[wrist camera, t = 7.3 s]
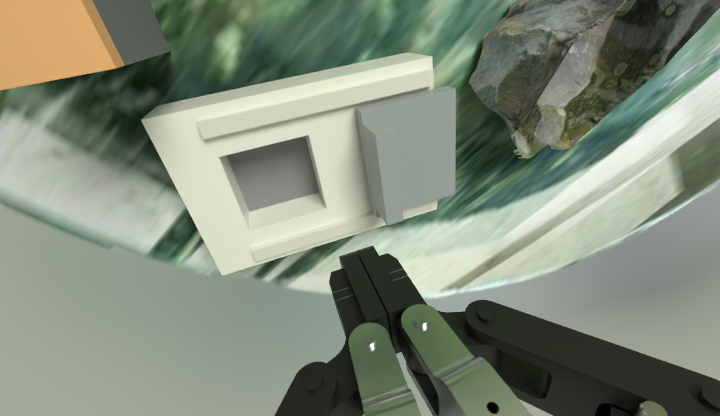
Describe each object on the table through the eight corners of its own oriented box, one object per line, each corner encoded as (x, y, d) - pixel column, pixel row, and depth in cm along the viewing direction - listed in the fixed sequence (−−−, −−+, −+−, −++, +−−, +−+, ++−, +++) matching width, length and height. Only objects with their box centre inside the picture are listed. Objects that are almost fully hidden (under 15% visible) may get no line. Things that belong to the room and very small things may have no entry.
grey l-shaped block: (355, 107, 21) (373, 121, 18) (446, 86, 22) (477, 95, 19) (371, 210, 25) (388, 235, 22) (447, 187, 26) (473, 208, 23)
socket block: (157, 105, 21) (138, 122, 17) (406, 52, 24) (435, 56, 21) (225, 245, 27) (221, 280, 24) (416, 189, 31) (439, 211, 27)
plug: (52, -20, 17) (-133, -64, 9) (135, -31, 18) (38, -82, 10) (97, 64, 19) (-16, 93, 11) (170, 51, 20) (116, 68, 12)
